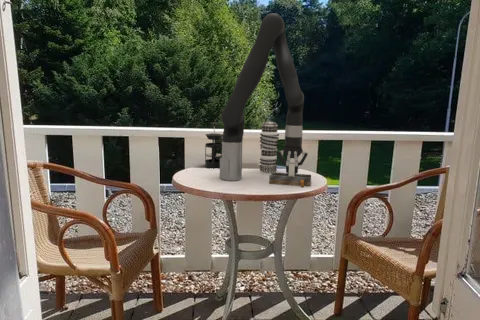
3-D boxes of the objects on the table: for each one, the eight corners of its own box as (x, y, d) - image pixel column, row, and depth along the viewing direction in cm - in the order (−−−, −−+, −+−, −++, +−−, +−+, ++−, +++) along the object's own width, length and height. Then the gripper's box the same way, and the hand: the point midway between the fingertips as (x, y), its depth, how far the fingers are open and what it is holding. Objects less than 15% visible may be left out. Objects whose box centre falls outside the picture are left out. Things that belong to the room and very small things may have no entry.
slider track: (268, 184, 183) (268, 176, 182) (271, 179, 193) (271, 171, 193) (310, 187, 179) (310, 179, 179) (310, 181, 190) (311, 174, 189)
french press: (202, 168, 213) (203, 123, 208) (204, 164, 222) (204, 121, 218) (225, 169, 213) (226, 123, 208) (226, 165, 222) (227, 122, 218)
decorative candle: (276, 175, 202) (279, 123, 197) (257, 174, 203) (259, 122, 198) (278, 171, 210) (280, 121, 206) (259, 170, 212) (261, 120, 207)
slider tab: (285, 179, 185) (286, 164, 184) (286, 177, 189) (287, 162, 188) (296, 180, 184) (297, 164, 183) (297, 178, 189) (298, 162, 187)
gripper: (310, 135, 186) (307, 173, 189) (278, 133, 188) (277, 171, 191) (309, 137, 178) (307, 176, 182) (276, 135, 181) (275, 174, 184)
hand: (291, 173), depth 186 cm, fingers closed on slider tab, 2 cm apart
